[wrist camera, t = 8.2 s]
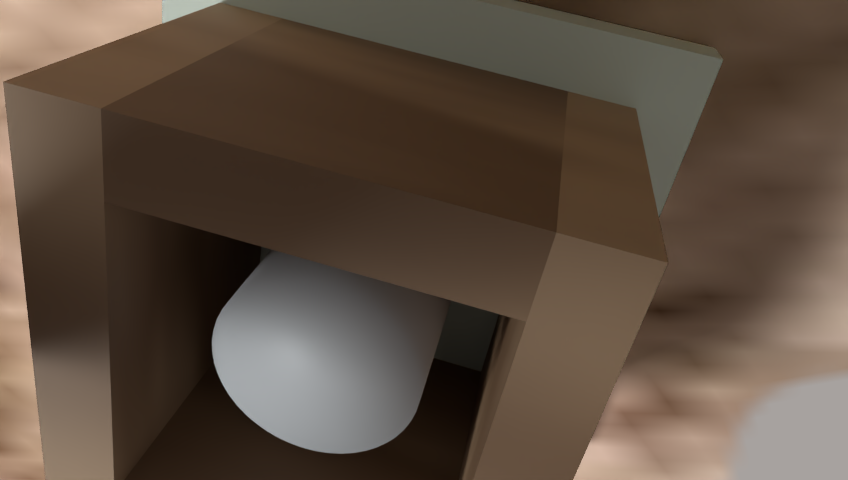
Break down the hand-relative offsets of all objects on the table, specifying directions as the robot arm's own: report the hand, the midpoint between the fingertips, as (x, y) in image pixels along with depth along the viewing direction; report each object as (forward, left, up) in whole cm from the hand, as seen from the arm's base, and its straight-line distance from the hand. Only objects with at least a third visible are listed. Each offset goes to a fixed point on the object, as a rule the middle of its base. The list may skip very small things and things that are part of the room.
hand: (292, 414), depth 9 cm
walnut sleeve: (0, 0, -5) cm, 5 cm away
